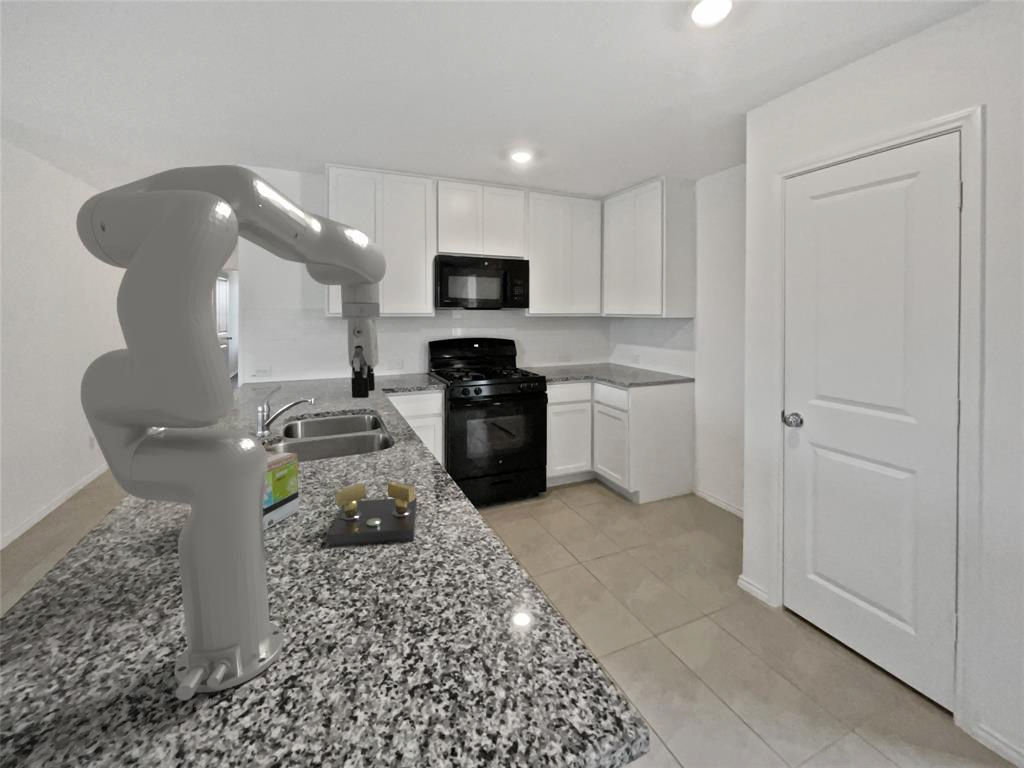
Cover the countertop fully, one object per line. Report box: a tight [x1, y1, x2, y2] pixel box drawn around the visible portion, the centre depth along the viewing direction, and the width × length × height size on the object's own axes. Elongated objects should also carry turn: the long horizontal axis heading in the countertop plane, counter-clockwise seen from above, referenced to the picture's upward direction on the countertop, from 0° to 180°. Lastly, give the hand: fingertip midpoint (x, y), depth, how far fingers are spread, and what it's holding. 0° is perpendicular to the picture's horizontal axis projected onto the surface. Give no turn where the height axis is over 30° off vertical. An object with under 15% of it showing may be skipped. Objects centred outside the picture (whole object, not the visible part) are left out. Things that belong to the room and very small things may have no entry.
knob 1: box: [334, 483, 367, 516], centre depth 102 cm, size 3×6×6 cm, turn 138°
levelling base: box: [327, 497, 418, 547], centre depth 104 cm, size 18×17×3 cm
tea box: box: [263, 450, 300, 531], centre depth 105 cm, size 15×10×15 cm
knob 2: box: [387, 481, 416, 513], centre depth 104 cm, size 3×6×6 cm, turn 59°
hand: (364, 394), depth 98 cm, fingers open, 9 cm apart
